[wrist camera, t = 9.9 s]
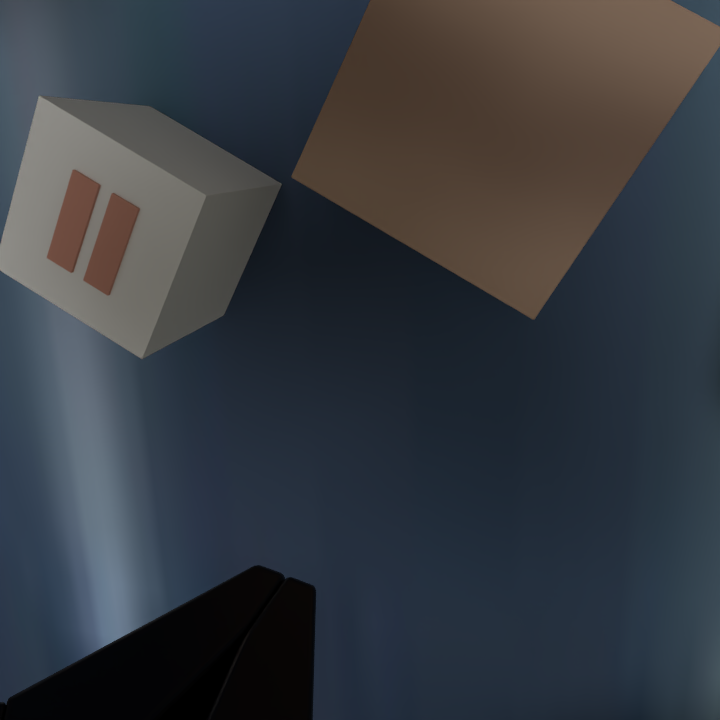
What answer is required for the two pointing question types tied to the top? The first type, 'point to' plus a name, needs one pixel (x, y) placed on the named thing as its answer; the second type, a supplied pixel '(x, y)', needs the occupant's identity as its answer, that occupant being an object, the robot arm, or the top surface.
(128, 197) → the grey block marked
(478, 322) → the top surface
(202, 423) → the top surface
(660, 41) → the walnut block
